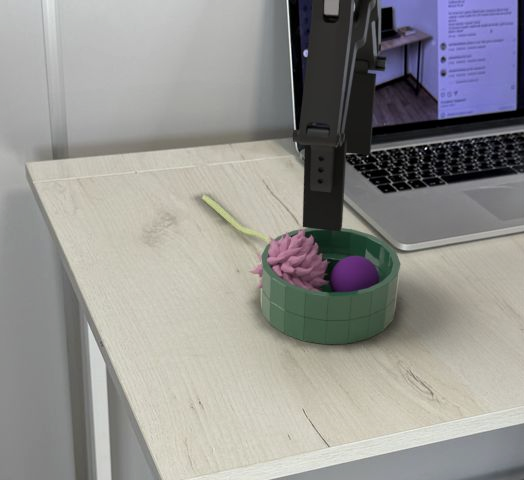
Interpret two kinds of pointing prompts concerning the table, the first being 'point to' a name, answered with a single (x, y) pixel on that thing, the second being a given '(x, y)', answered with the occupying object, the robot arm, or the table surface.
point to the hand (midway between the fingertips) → (339, 187)
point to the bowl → (333, 303)
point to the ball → (353, 274)
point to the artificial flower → (287, 255)
